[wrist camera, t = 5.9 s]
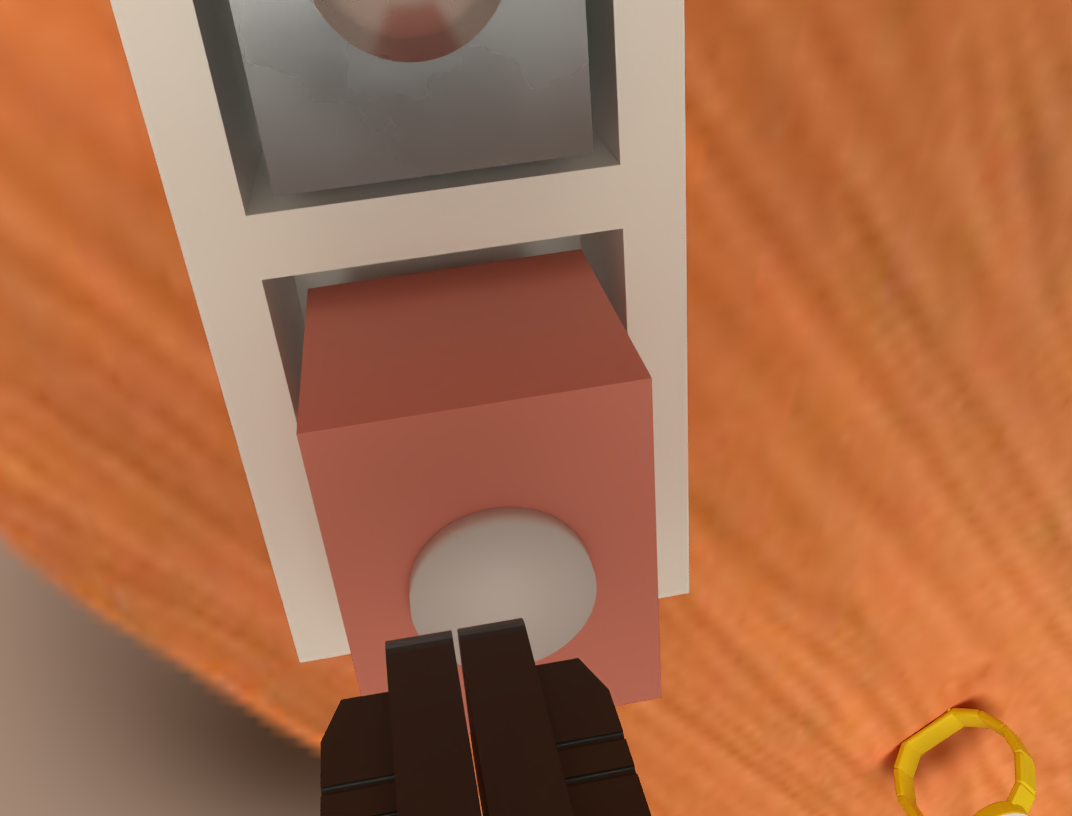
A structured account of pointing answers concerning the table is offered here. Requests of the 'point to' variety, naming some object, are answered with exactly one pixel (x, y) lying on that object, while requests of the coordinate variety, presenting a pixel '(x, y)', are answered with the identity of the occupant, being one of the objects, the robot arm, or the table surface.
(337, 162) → the grey button block
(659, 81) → the frame
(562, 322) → the red button block
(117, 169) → the table surface
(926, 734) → the watch
